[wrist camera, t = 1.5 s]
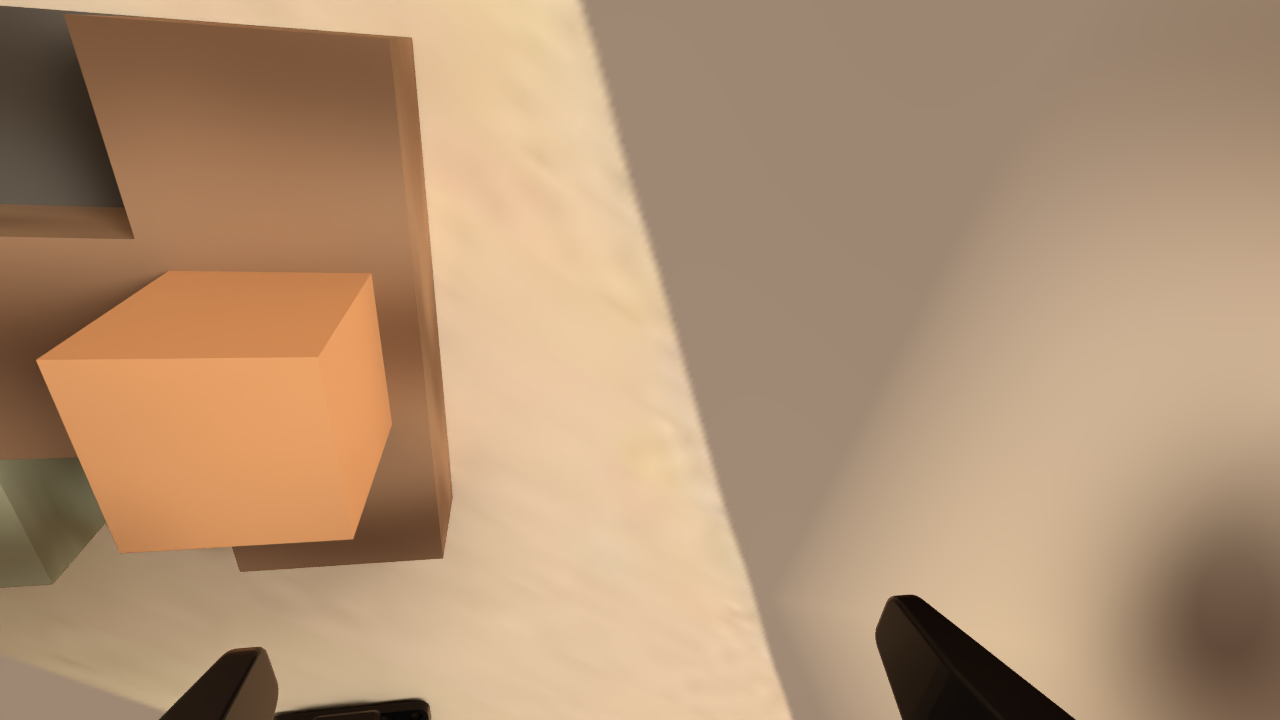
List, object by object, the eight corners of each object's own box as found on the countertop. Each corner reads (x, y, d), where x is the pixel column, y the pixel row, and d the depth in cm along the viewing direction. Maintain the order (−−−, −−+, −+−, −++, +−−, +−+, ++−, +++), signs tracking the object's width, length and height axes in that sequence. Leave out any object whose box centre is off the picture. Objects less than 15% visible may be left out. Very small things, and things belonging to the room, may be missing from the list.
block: (392, 424, 17) (353, 538, 13) (215, 429, 16) (119, 553, 13) (371, 273, 15) (317, 357, 11) (168, 270, 14) (35, 360, 11)
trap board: (452, 497, 23) (443, 558, 20) (-102, 525, 19) (-199, 601, 17) (411, 37, 16) (389, 39, 13) (-458, -31, 13) (-715, -46, 10)
